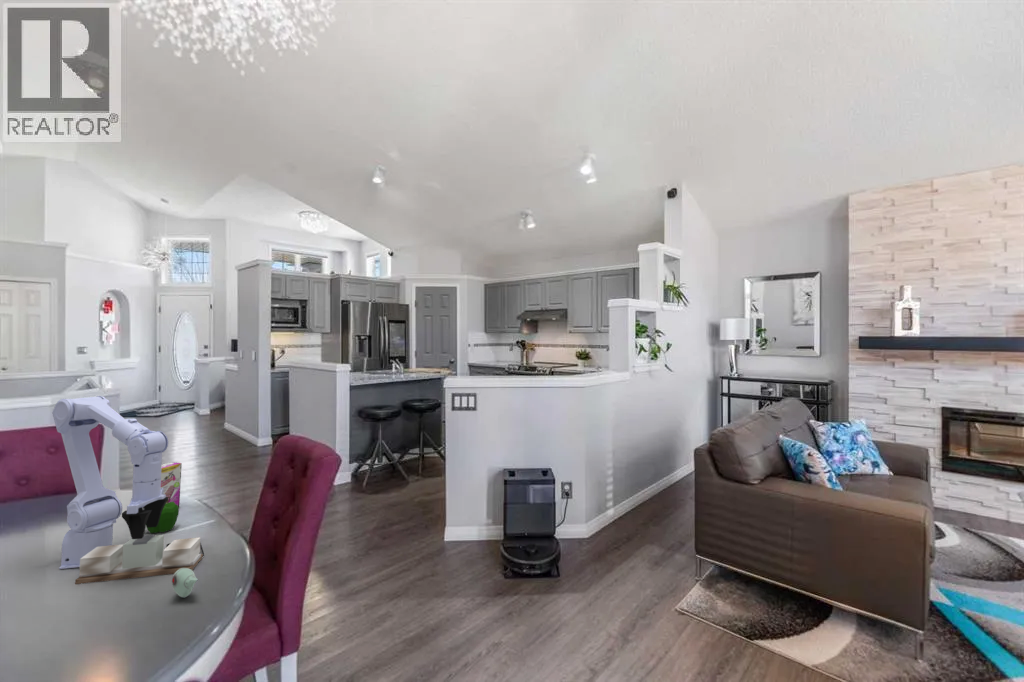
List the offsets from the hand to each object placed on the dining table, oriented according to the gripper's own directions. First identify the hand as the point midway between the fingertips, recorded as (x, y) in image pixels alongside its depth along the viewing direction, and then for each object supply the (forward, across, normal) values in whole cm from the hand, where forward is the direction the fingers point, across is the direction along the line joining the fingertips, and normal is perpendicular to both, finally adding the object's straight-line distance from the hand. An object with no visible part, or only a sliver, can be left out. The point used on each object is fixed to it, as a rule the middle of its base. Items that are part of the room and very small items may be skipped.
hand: (145, 532), depth 116 cm
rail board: (+9, -1, 0) cm, 9 cm away
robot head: (+10, -18, -15) cm, 25 cm away
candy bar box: (+10, +45, +14) cm, 48 cm away
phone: (+10, +9, -6) cm, 15 cm away
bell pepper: (+10, +28, +7) cm, 30 cm away
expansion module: (+8, -1, 0) cm, 8 cm away
